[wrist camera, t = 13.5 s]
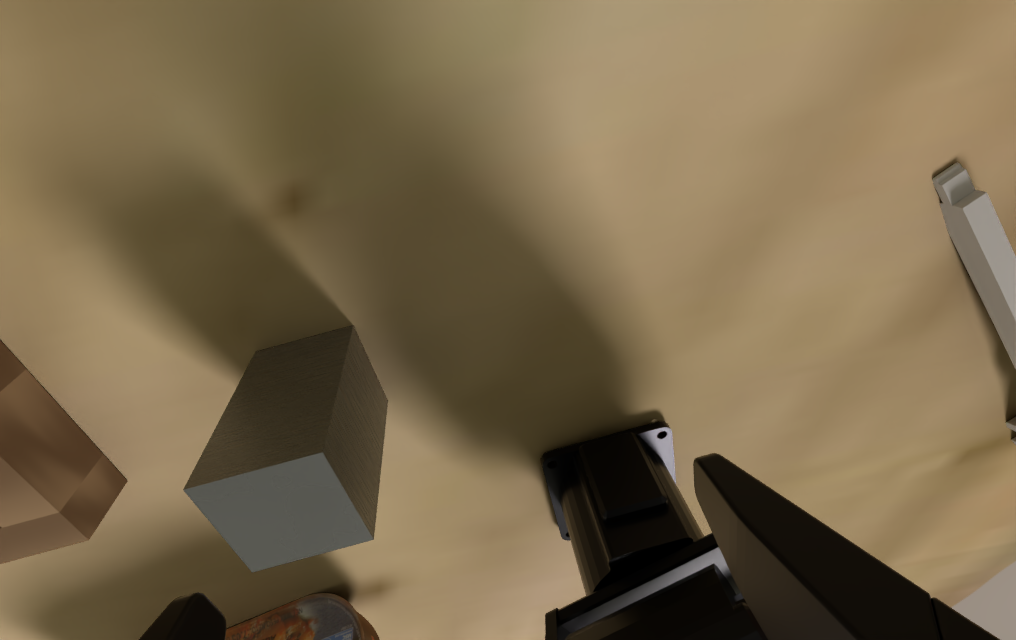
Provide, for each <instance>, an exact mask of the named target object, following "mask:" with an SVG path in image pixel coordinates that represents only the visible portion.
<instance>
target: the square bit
mask: <svg viewBox="0 0 1016 640" xmlns="http://www.w3.org/2000/svg"><path fill="white" fill-rule="evenodd" d="M387 405H388V400H387V398H386V395H385V393H384V391H383V389H382V387H381V384H380V382H379V380H378V378H377V376H376V374H375V371H374V369H373V367H372V365H371V363H370V360H369V358H368V356H367V354H366V352H365V350H364V347H363V345H362V343H361V341H360V339H359V336H358V334H357V332H356V330H355V328H354V325H353V326H349V327H345V328H341V329H338V330H334V331H330V332H327V333H323V334H319V335H315V336H312V337H308V338H304V339H301V340H297V341H293V342H289V343H286V344H282V345H278V346H275V347H271V348H267V349H263V350H260V351H256V352H255V354H254V356H253V358H252V359H251V361H250V363H249V365H248V367H247V369H246V371H245V373H244V375H243V377H242V379H241V380H240V382H239V384H238V386H237V388H236V390H235V392H234V394H233V396H232V398H231V400H230V401H229V403H228V405H227V407H226V409H225V411H224V413H223V415H222V417H221V419H220V421H219V422H218V424H217V426H216V428H215V430H214V432H213V434H212V436H211V438H210V440H209V442H208V443H207V445H206V447H205V449H204V451H203V453H202V455H201V457H200V459H199V461H198V463H197V464H196V466H195V468H194V470H193V472H192V474H191V476H190V478H189V480H188V482H187V484H186V485H185V487H184V489H183V490H184V491H185V493H186V494H187V495H188V496H189V497H190V499H191V500H192V501H193V502H194V503H195V505H196V506H197V507H198V508H199V509H200V511H201V512H202V513H203V514H204V515H205V517H206V518H207V519H208V520H209V521H210V523H211V524H212V525H213V526H214V527H215V529H216V530H217V531H218V532H219V533H220V535H221V536H222V537H223V538H224V539H225V541H226V542H227V543H228V544H229V545H230V547H231V548H232V549H233V550H234V551H235V553H236V554H237V555H238V556H239V557H240V559H241V560H242V561H243V562H244V563H245V564H246V566H247V567H248V568H249V569H250V570H251V572H256V571H260V570H263V569H267V568H271V567H274V566H278V565H282V564H285V563H289V562H293V561H296V560H300V559H304V558H308V557H311V556H315V555H319V554H322V553H326V552H330V551H333V550H337V549H341V548H345V547H348V546H352V545H356V544H359V543H363V542H367V541H370V540H374V532H375V522H376V512H377V503H378V493H379V483H380V474H381V464H382V454H383V444H384V435H385V425H386V415H387Z"/></svg>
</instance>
